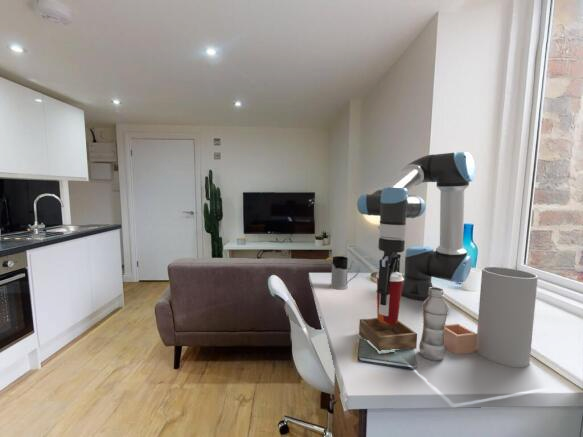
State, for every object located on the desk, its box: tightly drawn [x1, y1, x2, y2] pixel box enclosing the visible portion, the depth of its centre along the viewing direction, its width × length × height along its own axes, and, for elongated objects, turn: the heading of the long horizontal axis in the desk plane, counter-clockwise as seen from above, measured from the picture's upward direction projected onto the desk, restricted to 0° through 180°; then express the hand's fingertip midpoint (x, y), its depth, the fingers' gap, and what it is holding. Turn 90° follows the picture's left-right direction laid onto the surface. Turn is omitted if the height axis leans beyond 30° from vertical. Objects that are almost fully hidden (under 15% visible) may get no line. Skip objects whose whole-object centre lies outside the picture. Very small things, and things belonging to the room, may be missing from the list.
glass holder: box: [329, 255, 361, 291], centre depth 142 cm, size 9×14×15 cm, turn 82°
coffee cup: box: [375, 271, 404, 324], centre depth 88 cm, size 8×8×15 cm
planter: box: [444, 323, 477, 355], centre depth 86 cm, size 7×7×6 cm
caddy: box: [358, 317, 418, 351], centre depth 89 cm, size 12×12×5 cm
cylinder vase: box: [476, 266, 539, 368], centre depth 81 cm, size 12×12×25 cm
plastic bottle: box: [418, 286, 449, 362], centre depth 80 cm, size 6×7×20 cm
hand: (387, 310), depth 88 cm, fingers closed on coffee cup, 7 cm apart
